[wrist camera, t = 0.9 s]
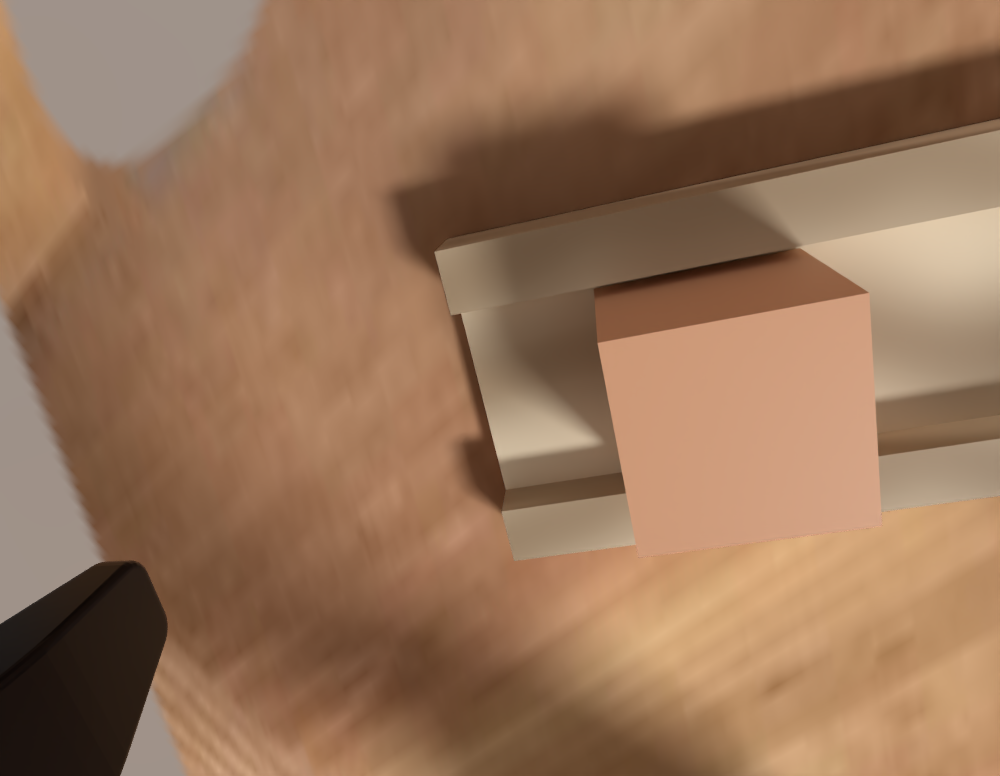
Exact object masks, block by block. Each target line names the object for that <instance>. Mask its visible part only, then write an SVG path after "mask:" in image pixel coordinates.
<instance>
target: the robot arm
mask: <svg viewBox="0 0 1000 776" xmlns="http://www.w3.org/2000/svg"><path fill="white" fill-rule="evenodd" d="M166 637H167V618H166V614H165V611H164V609H163V607H162V605H161V602H160V600H159V598H158V595H157V593H156V591H155V589H154V586H153V584H152V582H151V579H150V577H149V575H148V573H147V571H146V569H145V567H144V566H143V565H141V564H140V563H139V562H136V561H111V562H102V563H98V564H96V565H94V566H92V567H90V568H89V569H88V570H86V571H84V572H83V573H81V574H79V575H78V576H76V577H75V578H73V579H71V580H70V581H68V582H67V583H65V584H63V585H62V586H60V587H59V588H57V589H55V590H54V591H52V592H51V593H49V594H47V595H46V596H44V597H43V598H41V599H39V600H38V601H36V602H35V603H33V604H31V605H30V606H28V607H27V608H25V609H24V610H22V611H20V612H19V613H17V614H16V615H14V616H12V617H11V618H9V619H8V620H6V621H4V622H3V623H1V624H0V776H120V775H121V772H122V769H123V766H124V764H125V761H126V758H127V756H128V752H129V750H130V747H131V744H132V741H133V738H134V734H135V732H136V729H137V726H138V723H139V720H140V717H141V713H142V711H143V707H144V704H145V701H146V698H147V695H148V692H149V689H150V686H151V683H152V680H153V677H154V674H155V671H156V668H157V665H158V662H159V659H160V656H161V653H162V650H163V647H164V644H165V641H166Z"/></svg>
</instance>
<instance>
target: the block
mask: <svg viewBox="0 0 1000 776" xmlns="http://www.w3.org/2000/svg"><path fill="white" fill-rule="evenodd" d="M594 301H595V315H596V329H597V343H598V348H599V353H600V359H601V364H602V369H603V375H604V380H605V385H606V390H607V396H608V401H609V406H610V411H611V417H612V422H613V427H614V432H615V438H616V443H617V448H618V454H619V459H620V464H621V469H622V475H623V480H624V485H625V490H626V496H627V501H628V506H629V512H630V517H631V522H632V527H633V533H634V538H635V543H636V548H637V554H638V558H643V557H650V556H658V555H666V554H673V553H681V552H689V551H696V550H704V549H712V548H720V547H727V546H735V545H743V544H750V543H758V542H766V541H773V540H781V539H789V538H796V537H804V536H812V535H819V534H827V533H835V532H842V531H850V530H858V529H865V528H873V527H881V526H882V514H881V496H880V477H879V459H878V441H877V423H876V405H875V386H874V368H873V350H872V332H871V314H870V295H869V292H867V291H866V290H864V289H863V288H861V287H860V286H858V285H856V284H855V283H853V282H852V281H850V280H849V279H847V278H846V277H844V276H843V275H841V274H839V273H838V272H836V271H835V270H833V269H832V268H830V267H829V266H827V265H825V264H824V263H822V262H821V261H819V260H818V259H816V258H815V257H813V256H812V255H810V254H808V253H807V252H805V251H804V250H802V249H801V248H798V249H793V250H788V251H783V252H778V253H773V254H767V255H762V256H757V257H752V258H747V259H742V260H737V261H732V262H727V263H722V264H717V265H712V266H707V267H702V268H697V269H692V270H687V271H681V272H676V273H671V274H666V275H661V276H656V277H651V278H646V279H641V280H636V281H631V282H626V283H621V284H616V285H611V286H606V287H601V288H595V289H594Z"/></svg>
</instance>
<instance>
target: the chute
mask: <svg viewBox="0 0 1000 776" xmlns="http://www.w3.org/2000/svg"><path fill="white" fill-rule="evenodd" d="M798 248H801V249H802V250H804V251H805V252H807V253H808V254H810V255H812V256H813V257H815V258H816V259H818V260H819V261H821V262H822V263H824V264H825V265H827V266H829V267H830V268H832V269H833V270H835V271H836V272H838V273H839V274H841V275H843V276H844V277H846V278H847V279H849V280H850V281H852V282H853V283H855V284H856V285H858V286H860V287H861V288H863V289H864V290H866V291H867V292H869V295H870V314H871V332H872V350H873V368H874V386H875V405H876V423H877V441H878V459H879V477H880V496H881V512H884V511H891V510H899V509H906V508H914V507H921V506H929V505H936V504H944V503H951V502H959V501H966V500H974V499H981V498H989V497H996V496H1000V119H996V120H991V121H986V122H982V123H977V124H973V125H968V126H963V127H959V128H954V129H950V130H945V131H941V132H936V133H931V134H927V135H922V136H918V137H913V138H908V139H904V140H899V141H895V142H890V143H885V144H881V145H876V146H872V147H867V148H862V149H858V150H853V151H849V152H844V153H839V154H835V155H830V156H826V157H821V158H817V159H812V160H807V161H803V162H798V163H794V164H789V165H784V166H780V167H775V168H771V169H766V170H761V171H757V172H752V173H748V174H743V175H738V176H734V177H729V178H725V179H720V180H715V181H711V182H706V183H702V184H697V185H693V186H688V187H683V188H679V189H674V190H670V191H665V192H660V193H656V194H651V195H647V196H642V197H637V198H633V199H628V200H624V201H619V202H614V203H610V204H605V205H601V206H596V207H591V208H587V209H582V210H578V211H573V212H569V213H564V214H559V215H555V216H550V217H546V218H541V219H536V220H532V221H527V222H523V223H518V224H513V225H509V226H504V227H500V228H495V229H490V230H486V231H481V232H477V233H472V234H467V235H463V236H458V237H454V238H449V239H447V240H446V241H445V242H444V243H443V244H442V245H441V246H440V247H439V248H438V249H437V250H436V251H435V256H436V260H437V264H438V268H439V272H440V276H441V280H442V283H443V287H444V291H445V295H446V299H447V303H448V307H449V311H450V314H451V315H456V314H461V315H462V319H463V323H464V327H465V331H466V335H467V339H468V343H469V347H470V351H471V355H472V359H473V363H474V367H475V370H476V374H477V378H478V382H479V386H480V390H481V394H482V398H483V402H484V406H485V410H486V414H487V418H488V422H489V426H490V430H491V434H492V438H493V442H494V445H495V449H496V453H497V457H498V461H499V465H500V469H501V473H502V477H503V481H504V485H505V489H506V491H505V496H504V501H503V506H502V511H501V512H502V516H503V519H504V523H505V527H506V531H507V535H508V539H509V543H510V547H511V550H512V554H513V558H514V561H517V560H525V559H532V558H540V557H547V556H555V555H562V554H570V553H577V552H585V551H592V550H600V549H607V548H615V547H622V546H630V545H636V543H635V538H634V533H633V527H632V522H631V517H630V512H629V506H628V501H627V496H626V490H625V485H624V480H623V475H622V469H621V464H620V459H619V454H618V448H617V443H616V438H615V432H614V427H613V422H612V417H611V411H610V406H609V401H608V396H607V390H606V385H605V380H604V375H603V369H602V364H601V359H600V353H599V348H598V343H597V329H596V315H595V301H594V289H595V288H601V287H606V286H611V285H616V284H621V283H626V282H631V281H636V280H641V279H646V278H651V277H656V276H661V275H666V274H671V273H676V272H681V271H687V270H692V269H697V268H702V267H707V266H712V265H717V264H722V263H727V262H732V261H737V260H742V259H747V258H752V257H757V256H762V255H767V254H773V253H778V252H783V251H788V250H793V249H798Z"/></svg>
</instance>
